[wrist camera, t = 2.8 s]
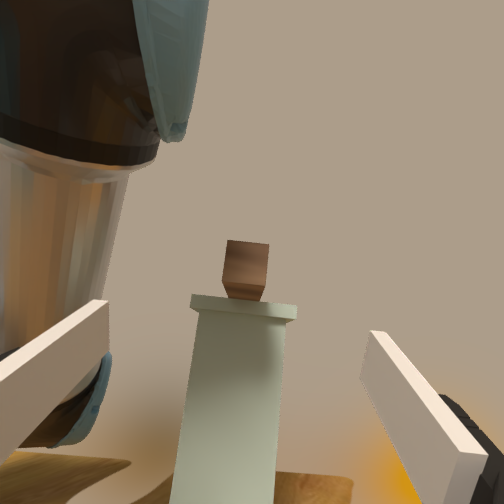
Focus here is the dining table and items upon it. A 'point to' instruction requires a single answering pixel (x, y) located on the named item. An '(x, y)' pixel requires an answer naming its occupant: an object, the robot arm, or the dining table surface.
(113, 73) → the robot arm
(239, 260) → the walnut bar
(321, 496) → the dining table surface
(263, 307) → the stand
